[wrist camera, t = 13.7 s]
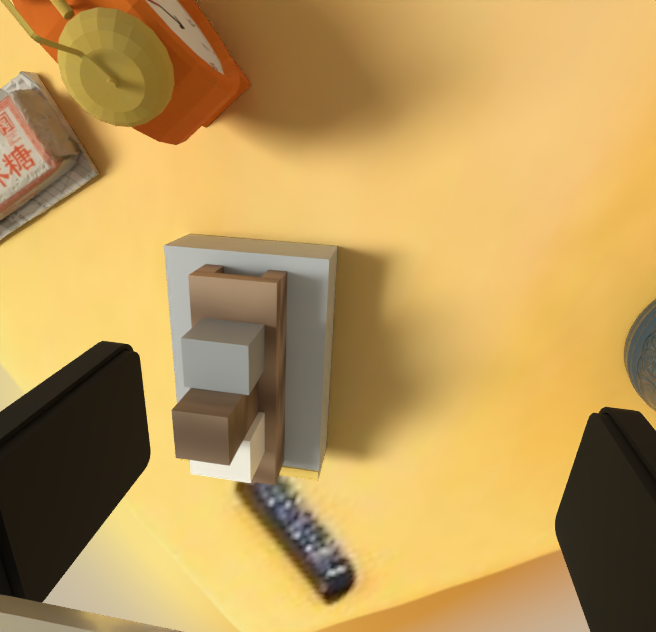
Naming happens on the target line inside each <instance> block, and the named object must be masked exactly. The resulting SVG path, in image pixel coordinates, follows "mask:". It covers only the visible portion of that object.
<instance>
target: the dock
mask: <svg viewBox="0 0 656 632" xmlns="http://www.w3.org/2000/svg"><path fill="white" fill-rule="evenodd" d="M337 250H338V246H331V245H319V244H307V243H295V242H282V241H270V240H258V239H246V238H234V237H222V236H210V235H197V234H188V235H186V236H184V237H182V238H179V239H177V240H175V241H173V242H170V243H168V244H166V245H164V251H165V263H166V275H167V287H168V299H169V311H170V323H171V335H172V347H173V359H174V371H175V383H176V395H177V403H178V402H179V401H180V400H181V399H182V398H183V396H184V395H185V394H186V393H187V392H188V391H189V389H190V388H189V387H184V377H183V363H182V348H181V337H182V336H184V335H185V334H186V333H187V332H188V331H189V330H190V329H191V328H192V325H191V310H190V295H189V279H188V275H189V274H191V273H192V272H194V271H195V270H197V269H198V268H200V267H202V266H203V265H205V264H213V265H224V274H234V275H245V276H256V277H261V276H262V275H263V274H264V273H265V272H266V271H267V270H279V271H287V327H286V389H285V451H284V463H283V466H282V468H281V471H280V474H279V475H284V476H290V477H297V478H304V479H311V480H317V481H318V479H319V475H320V471H321V467H322V463H323V459H324V455H325V451H326V445H327V427H328V410H329V392H330V374H331V357H332V339H333V321H334V303H335V286H336V268H337ZM181 460H182V461H189V462H190V460H187V459H181Z"/></svg>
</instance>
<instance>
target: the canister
mask: <svg viewBox="0 0 656 632" xmlns="http://www.w3.org/2000/svg"><path fill="white" fill-rule="evenodd" d="M624 361H625V367H626V370H627V373H628V375H629V378H630V381H631V383H632V385H633V387H634V389H635V390H636V392H637V393H638V394H639V396H640V397H641V398H642V399H643V400H644V401H645V402H646V404H647V405H649V406H650V407H651V408H652V409H653V410H655V411H656V299H655V300H654V301H653V302H652V303H651V304H649V305H648V306H647V307H646V308H645V309H644V310H643V312H642V313H641V314H640V315H639V316H638V318H637V319H636V321H635V322H634V324H633V325H632V327H631V329H630V331H629V334H628V336H627V339H626V343H625V349H624Z"/></svg>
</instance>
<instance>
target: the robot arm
mask: <svg viewBox="0 0 656 632" xmlns="http://www.w3.org/2000/svg"><path fill="white" fill-rule="evenodd" d="M149 459H150V442H149V433H148V424H147V416H146V407H145V398H144V390H143V381H142V372H141V364H140V357H139V355H138V353H137V352H134V351H133V349H132V347H131V346H130V345H129V344H123V343H115V342H107V341H101V342H99V343H98V344H96V345H95V346H93V347H92V348H90V349H89V350H88V351H86V352H85V353H83V354H82V355H80V356H79V357H78V358H76V359H75V360H73V361H72V362H70V363H69V364H68V365H66V366H65V367H63V368H62V369H61V370H59V371H58V372H56V373H55V374H53V375H52V376H51V377H49V378H48V379H46V380H45V381H43V382H42V383H41V384H39V385H38V386H36V387H35V388H33V389H32V390H31V391H29V392H28V393H26V394H25V395H24V396H22V397H21V398H19V399H18V400H16V401H15V402H14V403H12V404H11V405H9V406H8V407H6V408H5V409H4V410H2V411H1V412H0V632H181V631H177V630H172V629H168V628H163V627H158V626H153V625H148V624H143V623H138V622H133V621H128V620H124V619H119V618H114V617H109V616H104V615H99V614H95V613H90V612H85V611H80V610H75V609H70V608H65V607H60V606H56V605H50V604H46V603H42V602H43V601H44V600H45V599H46V597H47V596H48V594H49V593H50V592H51V591H52V589H53V588H54V587H55V585H56V584H57V583H58V581H59V580H60V579H61V578H62V576H63V575H64V574H65V572H66V571H67V570H68V569H69V567H70V566H71V565H72V563H73V562H74V561H75V559H76V558H77V557H78V556H79V554H80V553H81V552H82V550H83V549H84V548H85V546H86V545H87V544H88V542H89V541H90V540H91V539H92V537H93V536H94V535H95V533H96V532H97V531H98V529H99V528H100V527H101V525H102V524H103V523H104V522H105V520H106V519H107V518H108V516H109V515H110V514H111V513H112V511H113V510H114V509H115V507H116V506H117V505H118V503H119V502H120V501H121V500H122V498H123V497H124V496H125V494H126V493H127V492H128V490H129V489H130V488H131V486H132V485H133V484H134V483H135V481H136V480H137V479H138V477H139V476H140V475H141V473H142V472H143V471H144V470H145V468H146V466H147V464H148V462H149ZM555 531H556V536H557V539H558V542H559V545H560V548H561V550H562V553H563V556H564V559H565V562H566V564H567V567H568V570H569V573H570V576H571V578H572V581H573V584H574V587H575V590H576V592H577V595H578V598H579V601H580V604H581V607H582V609H583V612H584V615H585V618H586V620H587V623H588V626H589V629H590V632H656V431H655V430H654V428H653V427H652V426H651V425H650V423H649V422H648V421H647V420H646V418H645V417H644V416H643V415H642V414H641V413H640V412H639V411H634V410H626V409H618V408H611V407H604V408H602V409H601V410H600V412H599V413H592V414H591V415H590V417H589V419H588V421H587V424H586V427H585V430H584V433H583V437H582V440H581V443H580V446H579V449H578V452H577V455H576V458H575V461H574V464H573V467H572V470H571V473H570V476H569V479H568V482H567V485H566V488H565V491H564V494H563V497H562V500H561V503H560V506H559V509H558V512H557V515H556V519H555Z"/></svg>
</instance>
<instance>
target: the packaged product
mask: <svg viewBox="0 0 656 632" xmlns="http://www.w3.org/2000/svg"><path fill="white" fill-rule="evenodd" d="M99 174H100V173H99V171H98V169H97V168H96V166H95V164H94V163H93V161H92V160H91V158H90V156H89V155H88V153H87V152H86V150H85V148H84V147H83V145H82V144H81V142H80V140H79V139H78V137H77V136H76V134H75V132H74V131H73V129H72V128H71V126H70V125H69V123H68V122H67V120H66V119H65V117H64V116H63V114H62V112H61V111H60V109H59V107H58V106H57V104H56V103H55V101H54V100H53V98H52V96H51V95H50V93H49V92H48V90H47V89H46V87H45V86H44V84H43V83H42V81H41V79H40V78H39V76H38V75H37V74H36V73H30V72H23V71H21V72H20V73H19V75H18V76H17V77H16V78H14V79H12V80H11V81H10V82H9V83H8V84H6V85H5V86H4V87H2V88H1V89H0V241H1V240H2V239H3V238H4V237H5V236H7V235H8V234H10V233H11V232H13V231H14V230H16V229H18V228H19V227H21V226H22V225H24V224H25V223H27V222H28V221H30V220H31V219H33V218H35V217H37V216H38V215H40V214H42V213H44V212H45V211H47V210H48V209H50V208H51V207H52V206H53V205H55V204H56V203H57V202H58V201H60V200H62V199H63V198H65V197H67V196H68V195H70V194H72V193H73V192H75V191H76V190H78V189H79V188H80V187H82V186H83V185H84V184H86V183H87V182H88V181H90V180H91V179H92V178H94V177H96V176H97V175H99Z"/></svg>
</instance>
